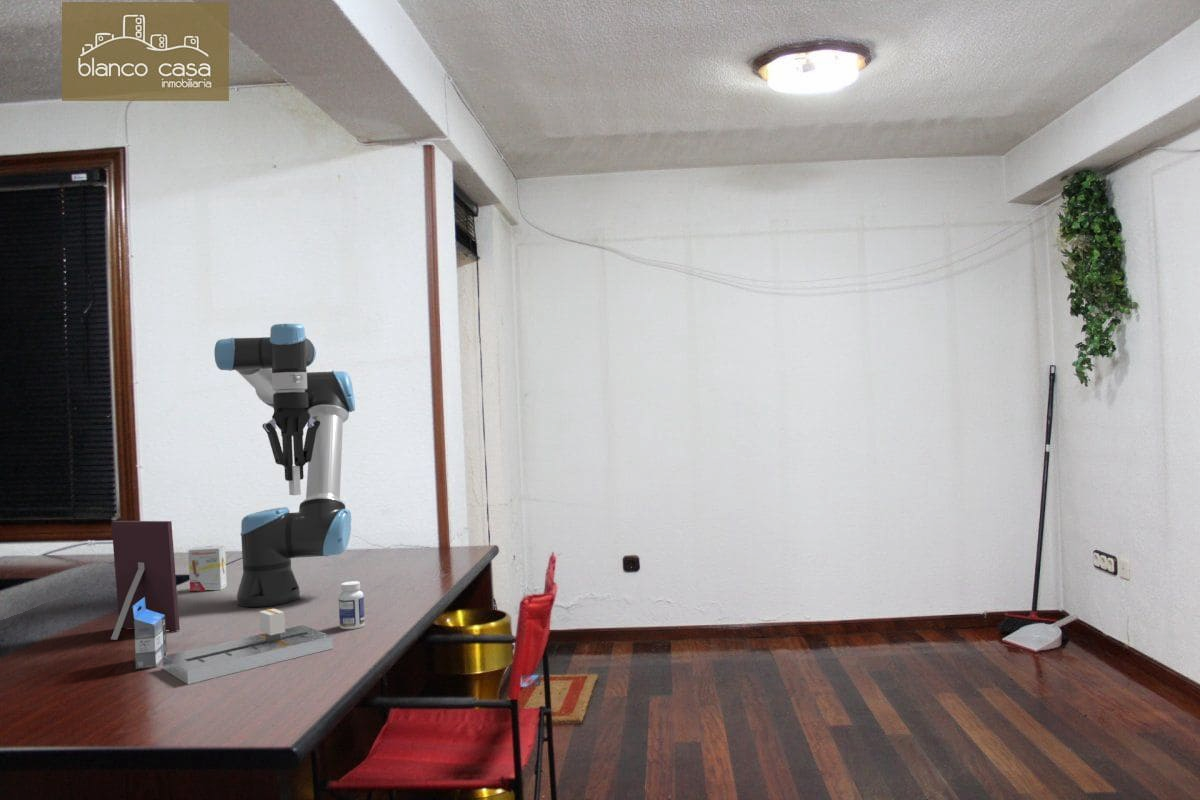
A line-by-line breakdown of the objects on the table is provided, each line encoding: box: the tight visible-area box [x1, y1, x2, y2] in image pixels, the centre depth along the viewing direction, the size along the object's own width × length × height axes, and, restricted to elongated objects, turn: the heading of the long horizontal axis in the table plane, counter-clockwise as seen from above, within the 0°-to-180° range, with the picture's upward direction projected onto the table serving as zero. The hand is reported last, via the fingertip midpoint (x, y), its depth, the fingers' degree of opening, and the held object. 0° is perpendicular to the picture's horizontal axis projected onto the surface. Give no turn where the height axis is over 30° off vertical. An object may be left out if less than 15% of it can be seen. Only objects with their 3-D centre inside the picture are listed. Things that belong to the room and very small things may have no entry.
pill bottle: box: [338, 580, 366, 630], centre depth 193 cm, size 5×5×10 cm
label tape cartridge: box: [132, 597, 168, 670], centre depth 171 cm, size 9×4×12 cm, turn 15°
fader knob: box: [259, 608, 286, 643], centre depth 174 cm, size 5×3×8 cm, turn 43°
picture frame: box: [110, 520, 180, 641], centre depth 194 cm, size 17×10×25 cm, turn 71°
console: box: [162, 624, 334, 685], centre depth 171 cm, size 14×28×3 cm, turn 133°
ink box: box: [187, 544, 228, 592], centre depth 241 cm, size 9×5×12 cm, turn 95°
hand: (295, 494), depth 198 cm, fingers closed
